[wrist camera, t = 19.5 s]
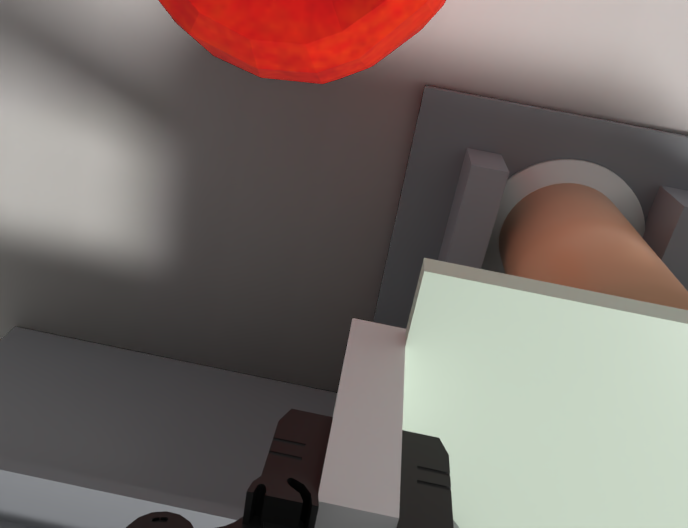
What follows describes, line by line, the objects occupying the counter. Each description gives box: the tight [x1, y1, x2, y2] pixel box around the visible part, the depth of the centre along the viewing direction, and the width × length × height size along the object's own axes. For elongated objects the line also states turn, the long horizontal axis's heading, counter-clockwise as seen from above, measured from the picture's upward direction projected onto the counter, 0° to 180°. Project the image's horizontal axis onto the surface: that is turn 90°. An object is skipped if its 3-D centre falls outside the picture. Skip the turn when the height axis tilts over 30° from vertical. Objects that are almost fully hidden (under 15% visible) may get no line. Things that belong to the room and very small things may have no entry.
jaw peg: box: [499, 183, 688, 310], centre depth 22 cm, size 5×5×9 cm
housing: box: [0, 85, 688, 528], centre depth 23 cm, size 17×39×12 cm, turn 80°
